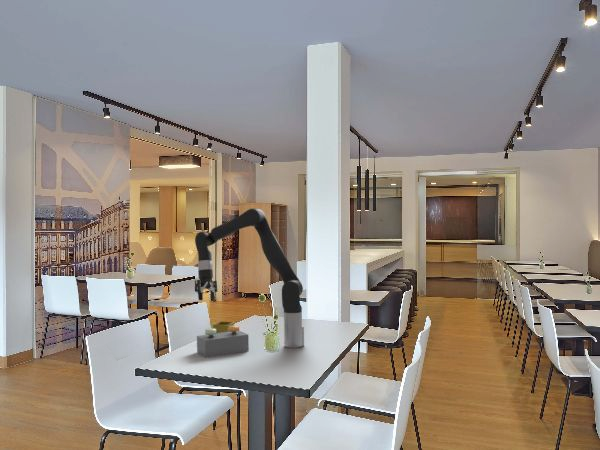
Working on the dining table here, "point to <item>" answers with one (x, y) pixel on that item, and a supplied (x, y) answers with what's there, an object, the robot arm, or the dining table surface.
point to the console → (222, 344)
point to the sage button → (210, 332)
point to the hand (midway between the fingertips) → (206, 300)
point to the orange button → (233, 329)
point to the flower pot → (222, 326)
